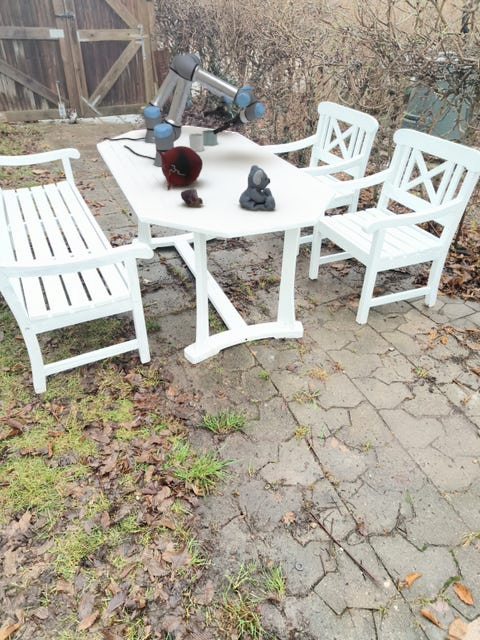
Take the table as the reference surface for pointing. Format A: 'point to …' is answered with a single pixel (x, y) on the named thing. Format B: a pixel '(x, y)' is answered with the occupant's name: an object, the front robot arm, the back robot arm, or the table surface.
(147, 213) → the table surface
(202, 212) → the table surface
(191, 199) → the rock
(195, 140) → the grey paneled bucket
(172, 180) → the dark red pot
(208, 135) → the tub
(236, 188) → the table surface
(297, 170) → the table surface
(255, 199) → the koala plush
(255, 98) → the front robot arm
